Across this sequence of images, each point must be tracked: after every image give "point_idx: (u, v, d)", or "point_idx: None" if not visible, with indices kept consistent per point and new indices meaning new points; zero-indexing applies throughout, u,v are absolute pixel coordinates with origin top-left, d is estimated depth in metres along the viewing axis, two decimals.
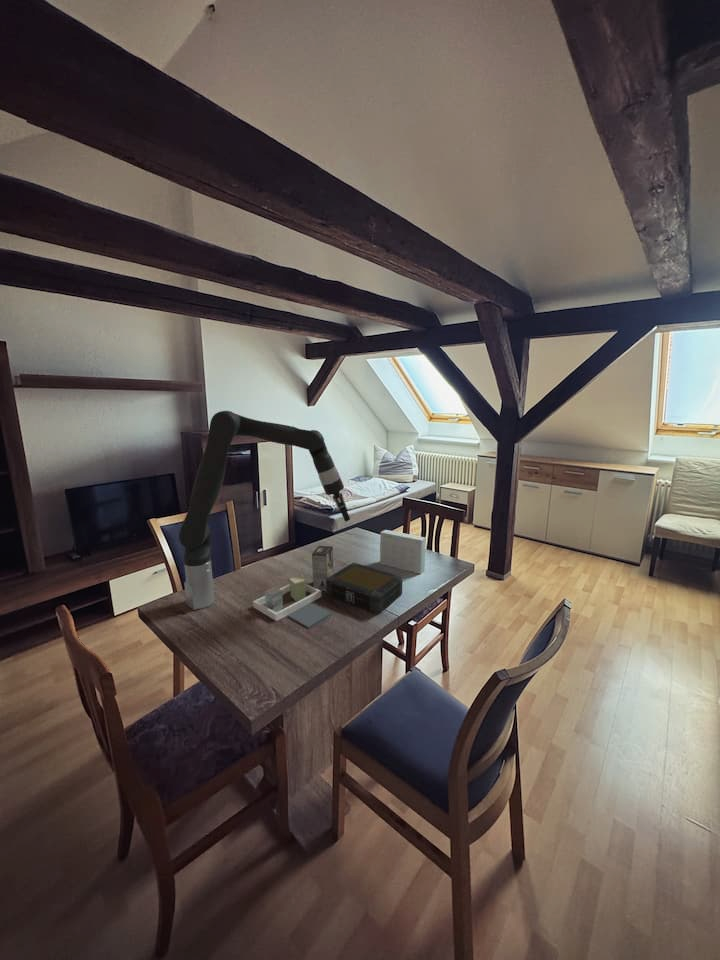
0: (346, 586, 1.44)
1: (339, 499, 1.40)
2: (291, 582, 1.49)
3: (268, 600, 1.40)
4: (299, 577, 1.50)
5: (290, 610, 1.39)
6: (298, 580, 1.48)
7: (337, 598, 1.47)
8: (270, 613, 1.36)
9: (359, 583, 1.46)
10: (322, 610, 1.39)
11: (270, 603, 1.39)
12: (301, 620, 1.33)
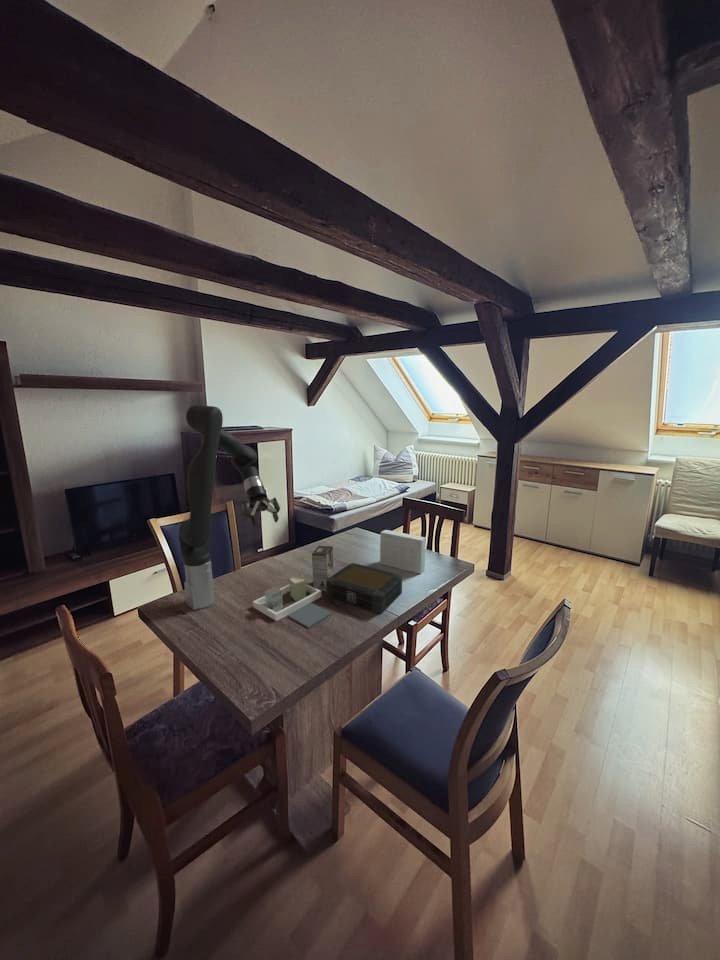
0: (347, 586, 1.44)
1: None
2: (291, 582, 1.48)
3: (268, 600, 1.40)
4: (299, 577, 1.50)
5: (290, 610, 1.39)
6: (298, 580, 1.48)
7: (338, 599, 1.47)
8: (270, 613, 1.36)
9: (360, 583, 1.46)
10: (322, 610, 1.39)
11: (270, 603, 1.39)
12: (301, 620, 1.33)
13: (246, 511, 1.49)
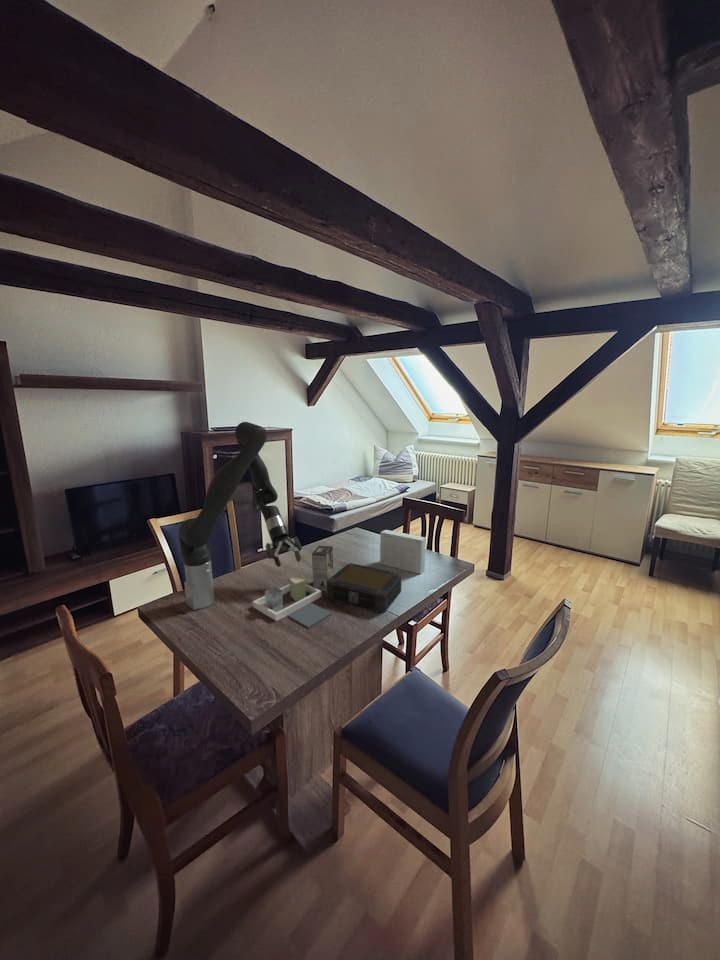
0: (349, 587, 1.43)
1: None
2: (291, 582, 1.49)
3: (268, 600, 1.40)
4: (299, 577, 1.50)
5: (290, 610, 1.39)
6: (298, 580, 1.48)
7: (339, 599, 1.46)
8: (270, 613, 1.36)
9: (361, 583, 1.46)
10: (322, 610, 1.39)
11: (270, 603, 1.39)
12: (301, 620, 1.33)
13: (270, 552, 1.52)
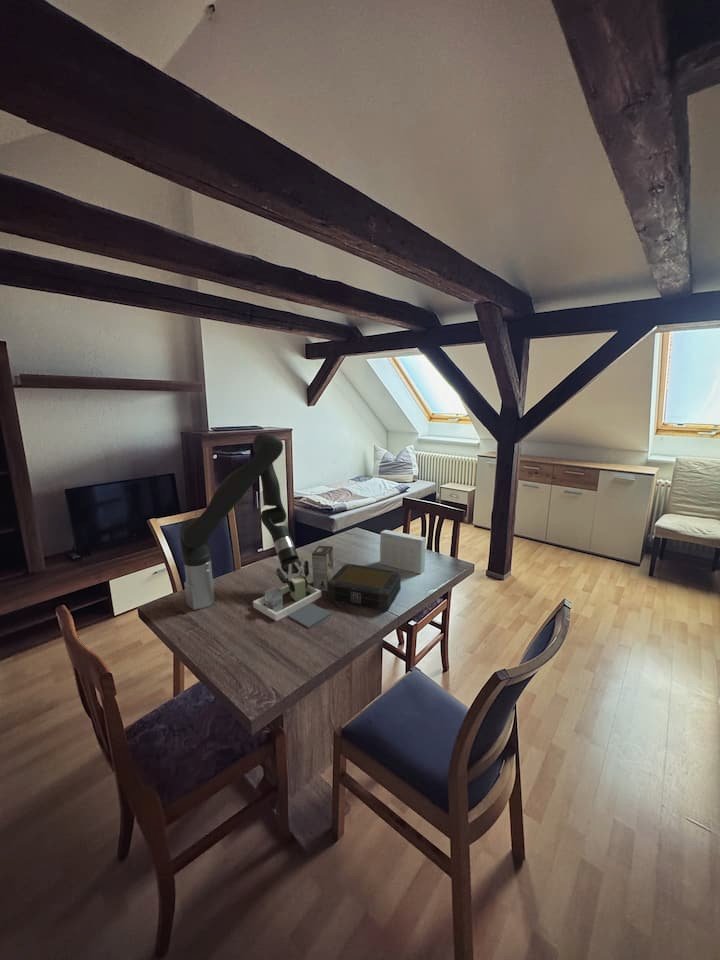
0: (351, 587, 1.43)
1: None
2: None
3: (268, 600, 1.40)
4: (299, 577, 1.50)
5: (290, 610, 1.39)
6: (298, 580, 1.48)
7: (341, 600, 1.46)
8: (270, 613, 1.36)
9: (363, 582, 1.46)
10: (322, 610, 1.39)
11: (270, 603, 1.39)
12: (301, 620, 1.33)
13: (283, 577, 1.47)
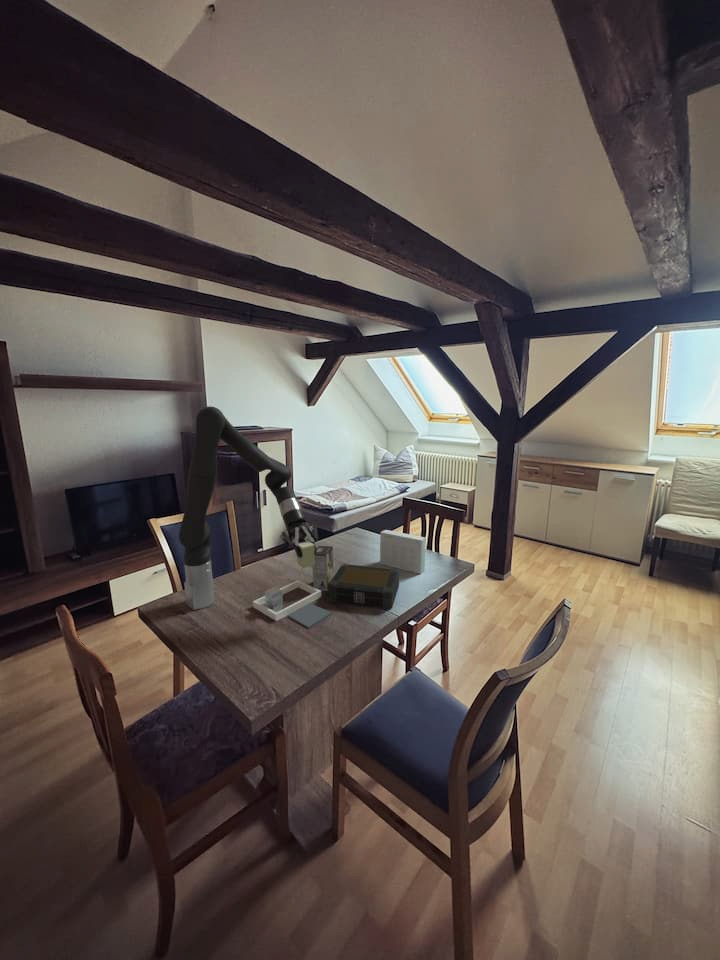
0: (354, 587, 1.43)
1: None
2: None
3: (268, 600, 1.40)
4: (307, 542, 1.34)
5: (290, 610, 1.39)
6: (306, 544, 1.32)
7: (343, 601, 1.45)
8: (270, 613, 1.36)
9: (365, 582, 1.46)
10: (322, 610, 1.39)
11: (270, 603, 1.39)
12: (301, 620, 1.33)
13: (289, 541, 1.30)
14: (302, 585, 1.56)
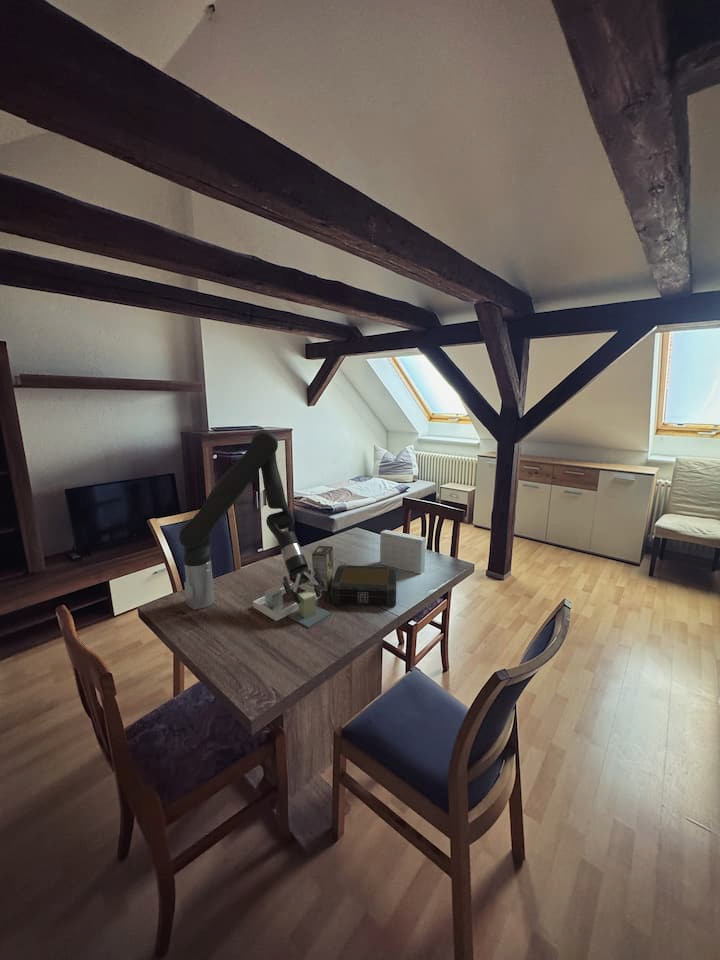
0: (357, 587, 1.43)
1: None
2: (300, 597, 1.36)
3: (268, 600, 1.40)
4: (308, 592, 1.38)
5: (290, 610, 1.39)
6: (308, 595, 1.36)
7: (347, 602, 1.44)
8: (270, 613, 1.36)
9: (366, 582, 1.47)
10: (322, 610, 1.39)
11: (270, 603, 1.39)
12: (301, 620, 1.33)
13: (288, 587, 1.34)
14: (302, 585, 1.56)
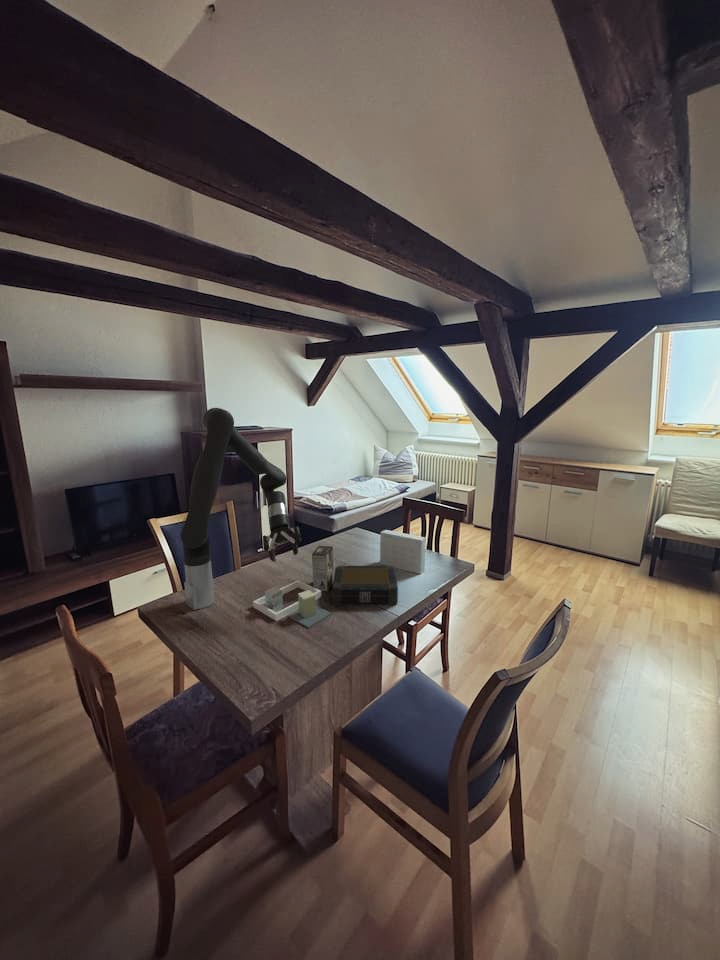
0: (359, 587, 1.43)
1: (297, 527, 1.42)
2: (300, 597, 1.36)
3: (268, 600, 1.40)
4: (308, 592, 1.38)
5: (290, 610, 1.39)
6: (308, 595, 1.36)
7: (349, 603, 1.44)
8: (270, 613, 1.36)
9: (368, 581, 1.47)
10: (322, 610, 1.39)
11: (270, 603, 1.39)
12: (301, 620, 1.33)
13: (264, 546, 1.40)
14: (302, 585, 1.56)
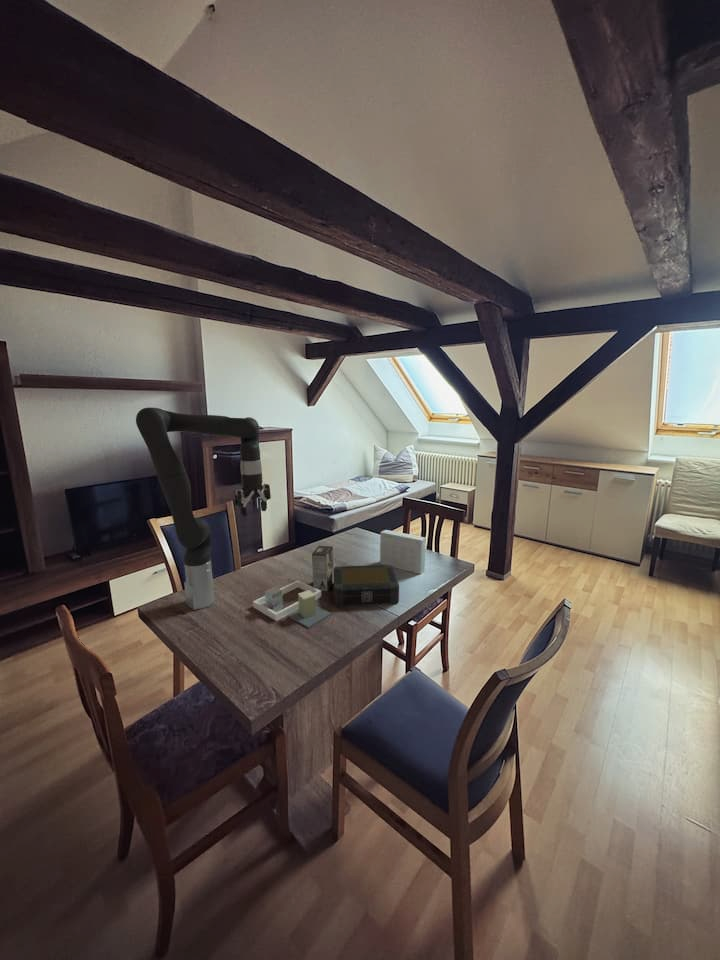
0: (361, 587, 1.43)
1: (236, 492, 1.38)
2: (300, 597, 1.36)
3: (268, 600, 1.40)
4: (308, 592, 1.38)
5: (290, 610, 1.39)
6: (308, 595, 1.36)
7: (351, 603, 1.44)
8: (270, 613, 1.36)
9: (368, 581, 1.47)
10: (322, 610, 1.39)
11: (270, 603, 1.39)
12: (301, 620, 1.33)
13: None
14: (302, 585, 1.56)
